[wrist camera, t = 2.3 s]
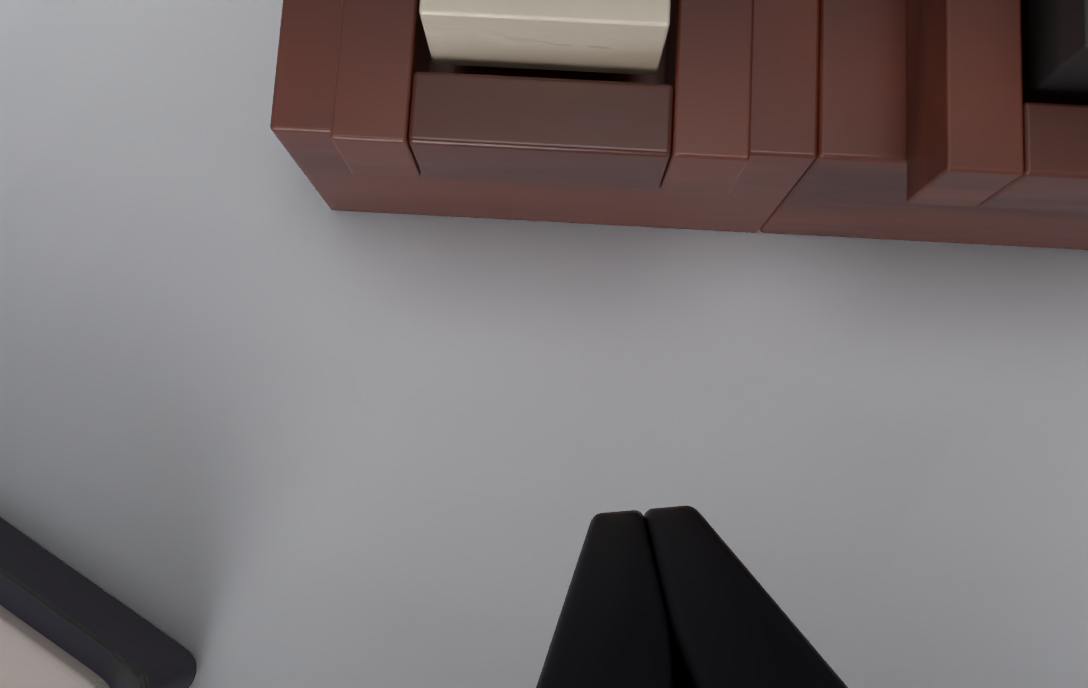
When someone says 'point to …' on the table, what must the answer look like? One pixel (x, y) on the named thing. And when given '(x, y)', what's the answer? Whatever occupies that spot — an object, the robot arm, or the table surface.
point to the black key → (1058, 47)
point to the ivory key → (548, 34)
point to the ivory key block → (553, 120)
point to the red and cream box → (75, 629)
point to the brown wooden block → (938, 131)
